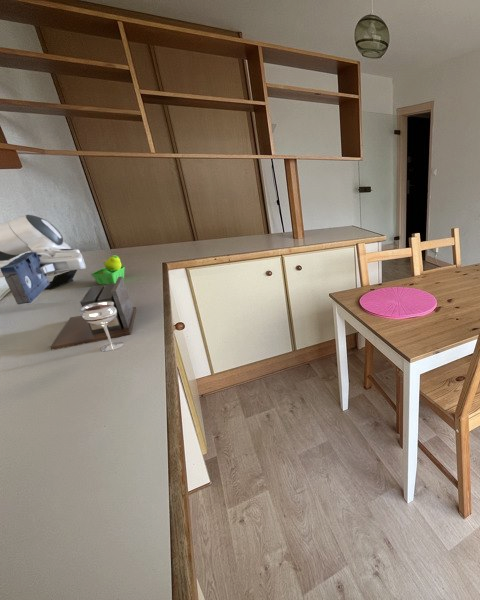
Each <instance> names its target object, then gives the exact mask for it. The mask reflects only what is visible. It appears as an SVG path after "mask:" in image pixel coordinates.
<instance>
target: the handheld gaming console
mask: <svg viewBox="0 0 480 600" xmlns="http://www.w3.org/2000/svg"><path fill="white" fill-rule="evenodd" d="M77 272H78V270H71V271H66V272H62V273H58V274H55V275H53V278H52V280H51V281H49V282H50V284H49V285H48V286H47V287H46V288H45V289H44V290H53V289H56V288H58V287H60V286H63V285H66V284H69V283H72V282H74V278H75V275H76V274H77Z"/></svg>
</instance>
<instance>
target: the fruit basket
mask: <svg viewBox="0 0 480 600" xmlns="http://www.w3.org/2000/svg"><path fill="white" fill-rule="evenodd" d="M103 266H104V267H103V268H101V269H98V270H97V271H95V272H93V273H91V276H92V277H93V278H94V279H95V281H96V282H97V283H98V285H104V286H106V284H114V283H116V281H117V279H118V277H121V276H122V277H123V279H125V269H126V267H125V266H122V262H121V258H120V257H119V256H118V255H116V254H115V255H113V254H112V255H111V256H110V257H109V258H108V259H106V260H105V261H104V263H103Z"/></svg>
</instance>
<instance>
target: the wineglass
mask: <svg viewBox="0 0 480 600" xmlns="http://www.w3.org/2000/svg"><path fill="white" fill-rule="evenodd" d="M79 311H80V312H82V314H81V316H82V317H83V319H84V320H85V321H86V322H87V323H90V324H92V325H100V326H103V328H104V331H105V333H106V335H107V337H108V339H107V340H108V342H109V343H107V344H105V345H103V346H101V347H102V348H101V347H100V348H101V350H102V351H101V350H100V351H101V352H109V351H114V350H117V349H120V348H121V347H123V346H124V345H125V343H124V342H123V341H116V342H112V338H110V335H109V332H108V328H107V325H108V323H110V322H112V321H113V320H114V319H115V317H116V316H117V309H116V308H115V307H114V302H110V301H106V302H97V303H93V304H89V305H86V306H83V307H82V306H81V307H80V308H79Z"/></svg>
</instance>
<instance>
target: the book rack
mask: <svg viewBox="0 0 480 600" xmlns="http://www.w3.org/2000/svg"><path fill="white" fill-rule="evenodd" d="M127 289H128V288H127V286H126V283H125V279H124V278H123V277H122V276H121V277H118V279H117V281H116V283H114V284H105V285H100V284H98V285H91V286H90V287H89V289H88V291H87V292H86V294H85V295H84V296H83V298H82V299H81V301H80V305H81V308H82V307H83V306H86V305H89V304H93V303H97V302H106V301H110V302H114V307H115V308H116V309H117V316H116V317H115V319H114V320H113V321H112V322H110V323H108V325H107V328H108V332H109V335H110V338H111V339H114V338H115V339H116V338H119V337H124V336H125V337H126V336H130V335H132V330H133V326H134V323H135V322H134V321H135V319H136V314H137V310H138V309H137V306H132V302H131V299H130V296H129V292H128V290H127ZM104 340H108V337H107V335H106V333H105V331H104V328H103V326H100V325H92V324H90V323H87V322H86V321H85V320H84V319H83V317H82V315H77V316H70V317H69V319H68V320H67V321H66V322H65V325H64V326H63V327H62V329H61V330H60V331H59V333H58V335H57V336H56V338H55V339H54V341H52V344H51V345H50V350H51V351H53V350H52V349H54V350H58V348H59V349H64V348H69V347H74V346H79V345H83V343H85V344H90V343H94V342H99V341H104ZM89 342H90V343H89ZM78 344H79V345H78ZM73 345H74V346H73ZM68 346H69V347H68ZM63 347H64V348H63Z"/></svg>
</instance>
